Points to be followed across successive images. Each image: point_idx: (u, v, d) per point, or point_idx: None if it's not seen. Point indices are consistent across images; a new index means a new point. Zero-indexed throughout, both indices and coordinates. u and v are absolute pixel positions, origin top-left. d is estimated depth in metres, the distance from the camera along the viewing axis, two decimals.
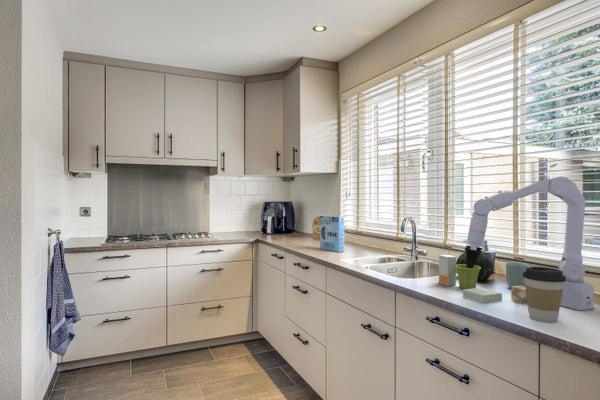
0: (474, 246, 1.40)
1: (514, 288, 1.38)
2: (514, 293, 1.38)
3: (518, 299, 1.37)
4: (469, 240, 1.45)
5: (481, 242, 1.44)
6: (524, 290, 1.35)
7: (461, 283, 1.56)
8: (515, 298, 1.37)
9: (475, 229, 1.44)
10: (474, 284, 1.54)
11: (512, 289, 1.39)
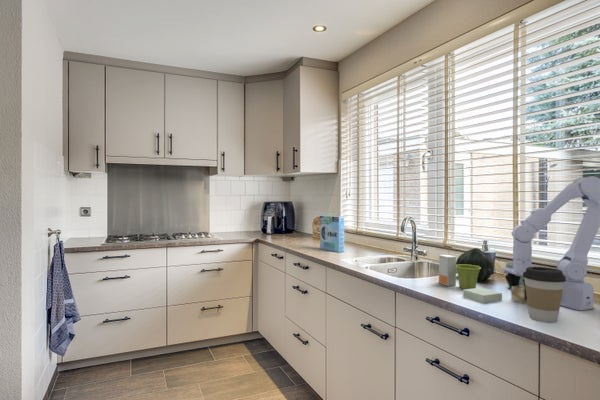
0: None
1: (514, 288, 1.38)
2: (514, 293, 1.38)
3: (518, 299, 1.37)
4: (524, 270, 1.35)
5: None
6: (524, 290, 1.35)
7: (461, 283, 1.56)
8: (515, 298, 1.37)
9: (521, 258, 1.35)
10: (474, 284, 1.54)
11: (512, 289, 1.39)
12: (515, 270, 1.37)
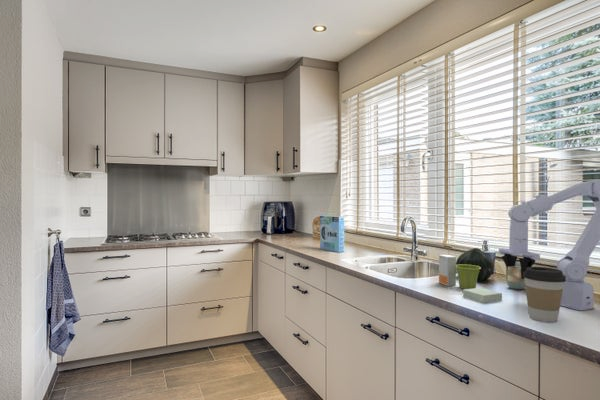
0: (538, 256, 1.31)
1: (510, 268, 1.38)
2: (510, 273, 1.38)
3: (514, 278, 1.37)
4: (520, 250, 1.35)
5: None
6: (520, 270, 1.35)
7: (461, 283, 1.56)
8: (512, 278, 1.38)
9: (518, 237, 1.35)
10: (474, 284, 1.54)
11: (508, 269, 1.39)
12: (511, 250, 1.37)
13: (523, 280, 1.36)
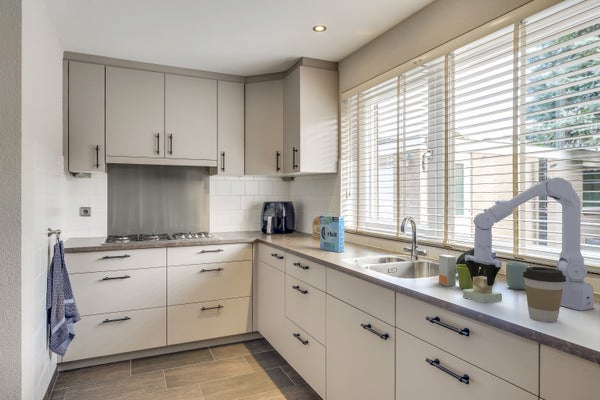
0: (500, 263, 1.34)
1: (475, 278, 1.41)
2: (475, 283, 1.41)
3: (478, 288, 1.40)
4: (484, 257, 1.38)
5: None
6: (484, 280, 1.38)
7: (461, 283, 1.56)
8: (476, 288, 1.41)
9: (482, 245, 1.38)
10: None
11: (473, 279, 1.42)
12: (476, 257, 1.40)
13: (487, 290, 1.39)
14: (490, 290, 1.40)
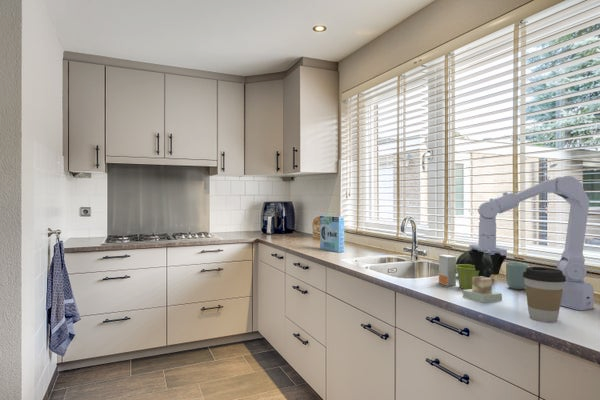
0: (505, 251, 1.35)
1: (475, 278, 1.41)
2: (474, 283, 1.41)
3: (478, 289, 1.40)
4: (488, 246, 1.39)
5: None
6: (483, 280, 1.38)
7: (461, 283, 1.56)
8: (476, 288, 1.41)
9: (486, 233, 1.39)
10: None
11: (473, 279, 1.42)
12: (480, 246, 1.41)
13: (486, 290, 1.39)
14: (489, 290, 1.40)
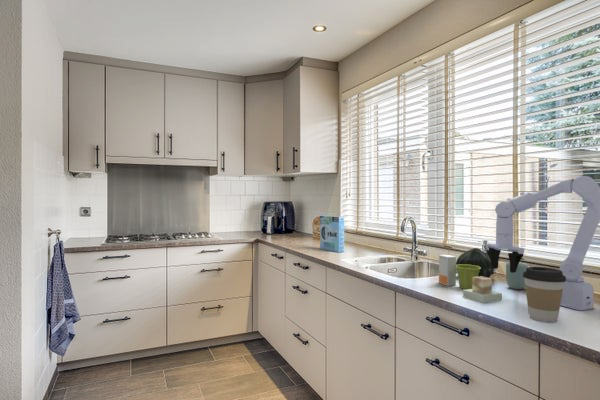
0: (522, 250, 1.39)
1: (475, 278, 1.41)
2: (475, 283, 1.41)
3: (478, 289, 1.40)
4: (506, 244, 1.43)
5: None
6: (484, 280, 1.38)
7: (461, 283, 1.56)
8: (476, 288, 1.40)
9: (501, 232, 1.43)
10: None
11: (473, 279, 1.42)
12: (498, 244, 1.45)
13: (487, 290, 1.39)
14: (489, 290, 1.40)
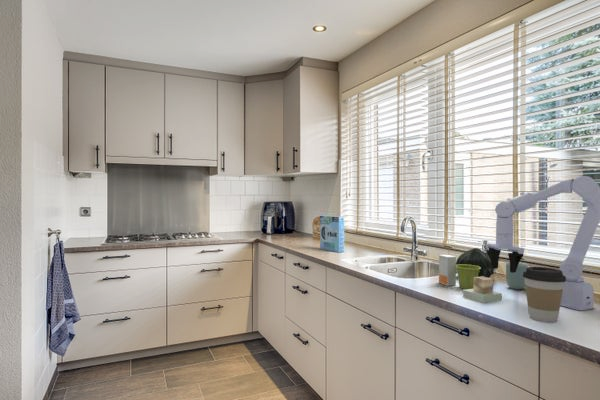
0: (522, 250, 1.39)
1: (476, 278, 1.41)
2: (476, 283, 1.41)
3: (479, 289, 1.40)
4: (506, 244, 1.43)
5: None
6: (485, 280, 1.38)
7: (461, 283, 1.56)
8: (477, 289, 1.40)
9: (501, 232, 1.43)
10: None
11: (474, 279, 1.42)
12: (498, 244, 1.45)
13: (488, 290, 1.39)
14: (491, 290, 1.39)
